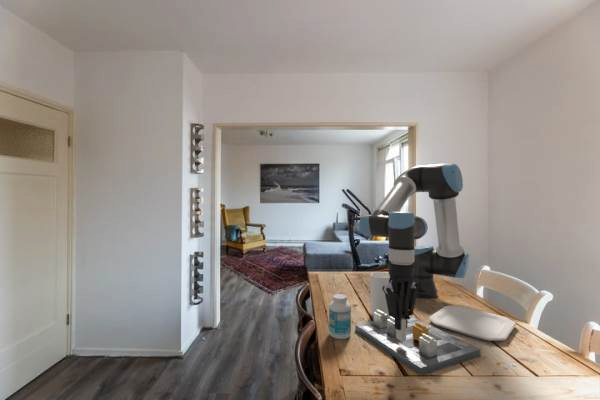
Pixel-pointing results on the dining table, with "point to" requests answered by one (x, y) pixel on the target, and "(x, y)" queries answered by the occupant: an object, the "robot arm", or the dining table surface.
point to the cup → (379, 292)
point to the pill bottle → (340, 317)
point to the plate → (473, 323)
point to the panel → (417, 344)
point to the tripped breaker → (419, 330)
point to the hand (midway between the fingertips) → (400, 339)
